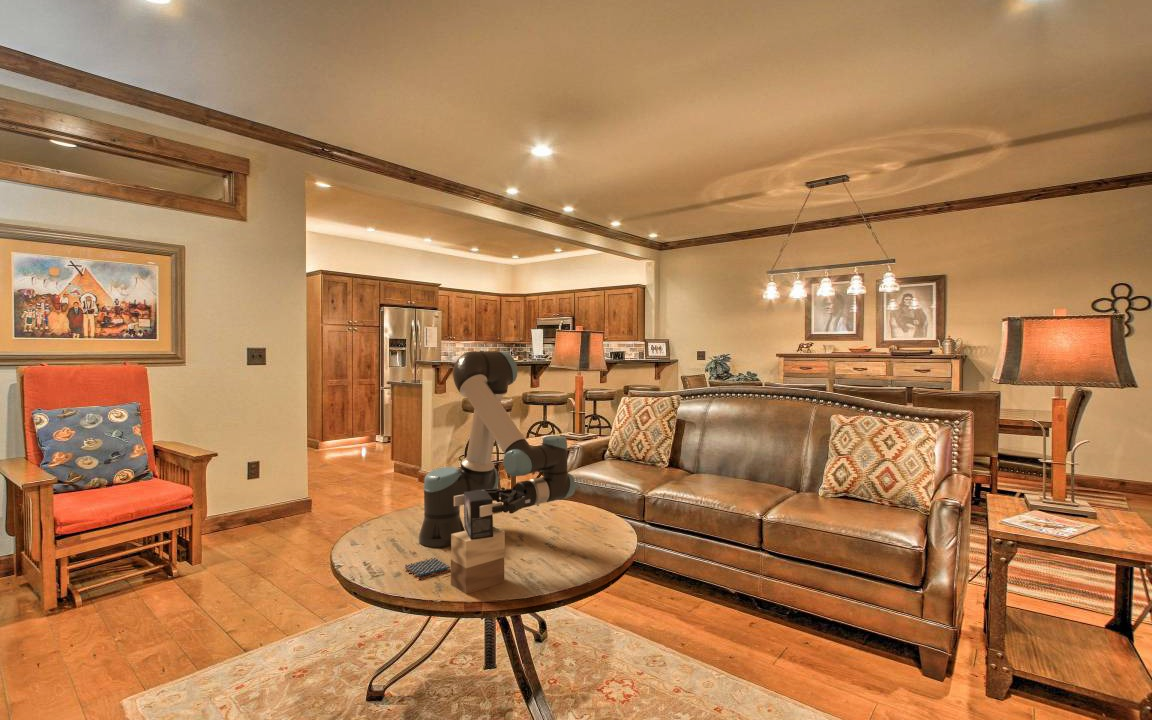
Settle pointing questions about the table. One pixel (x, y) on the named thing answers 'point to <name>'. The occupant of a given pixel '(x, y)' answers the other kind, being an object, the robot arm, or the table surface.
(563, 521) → the table surface
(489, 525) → the small box
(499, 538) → the tower top
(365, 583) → the table surface
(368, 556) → the table surface
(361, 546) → the table surface
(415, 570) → the woven mat
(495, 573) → the tower base
